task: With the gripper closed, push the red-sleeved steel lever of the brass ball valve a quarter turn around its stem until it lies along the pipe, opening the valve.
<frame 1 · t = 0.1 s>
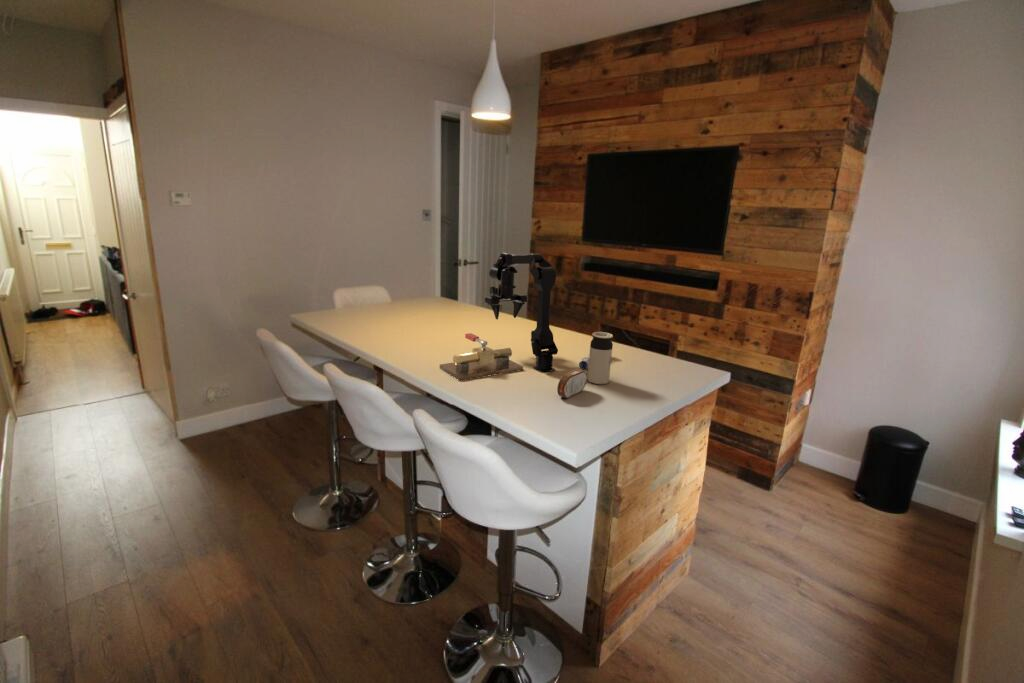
hand: (505, 318, 208), 15 cm above the table, tool pointing down, fingers open, 9 cm apart
travel mug: (597, 381, 180), on the table
valve: (482, 369, 186), on the table
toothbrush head: (595, 363, 203), on the table
tin: (571, 395, 165), on the table
lever: (476, 339, 187), point 11 cm above the table, hinge at 0.0°
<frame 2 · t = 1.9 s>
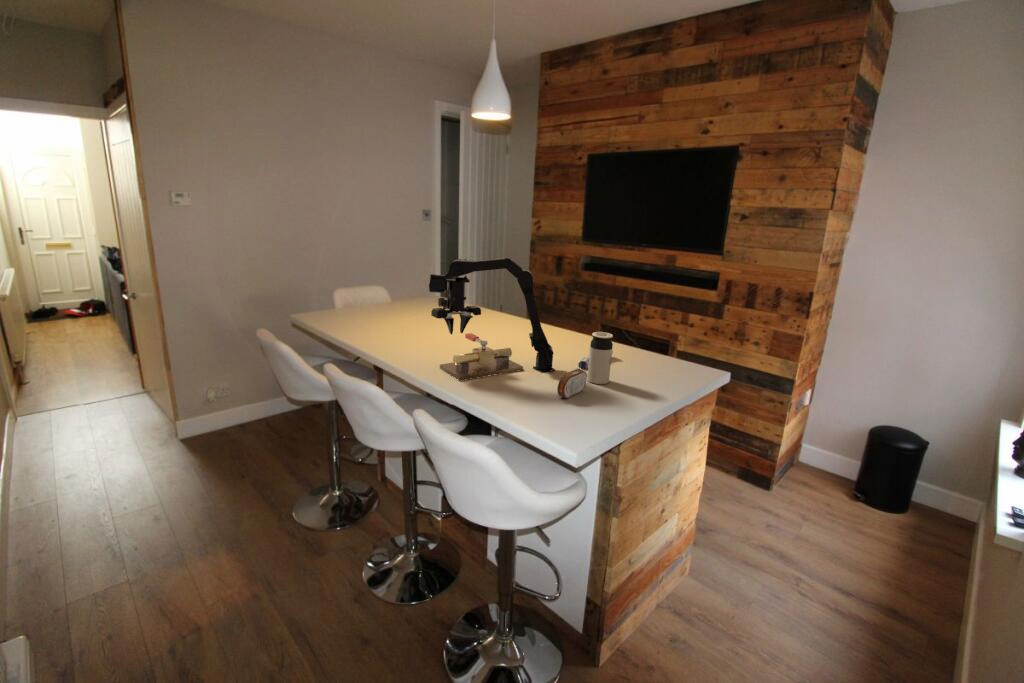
hand: (456, 333, 185), 13 cm above the table, tool pointing down, fingers open, 4 cm apart
nothing on the table moved.
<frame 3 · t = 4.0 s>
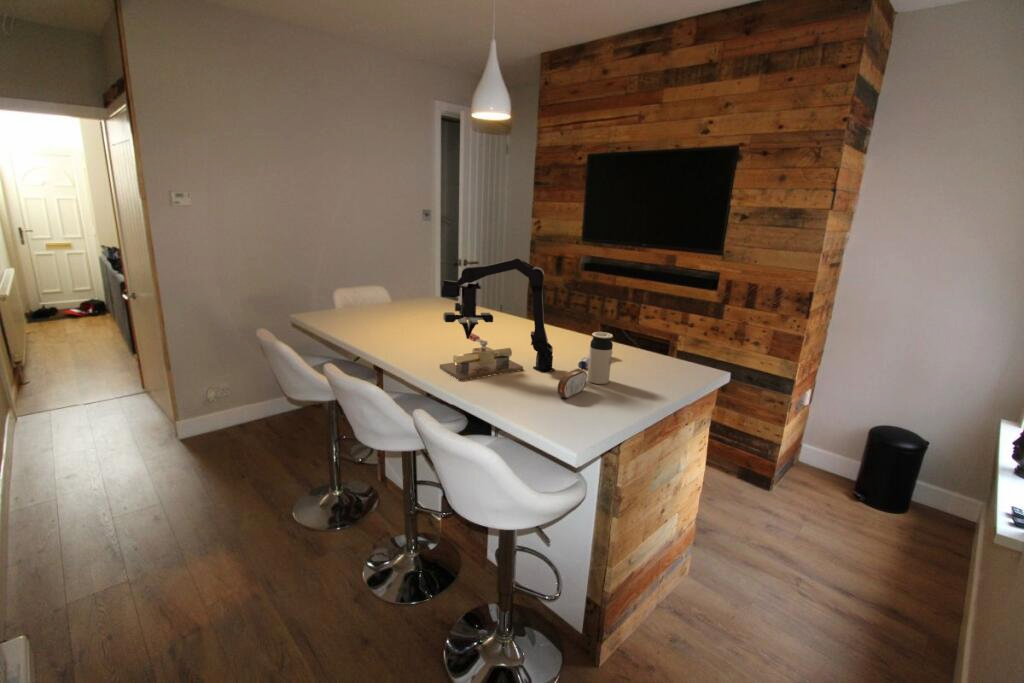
hand: (467, 338, 189), 10 cm above the table, tool pointing down, fingers closed
lever: (477, 339, 187), point 11 cm above the table, hinge at -2.1°, touching gripper
everything else where it was.
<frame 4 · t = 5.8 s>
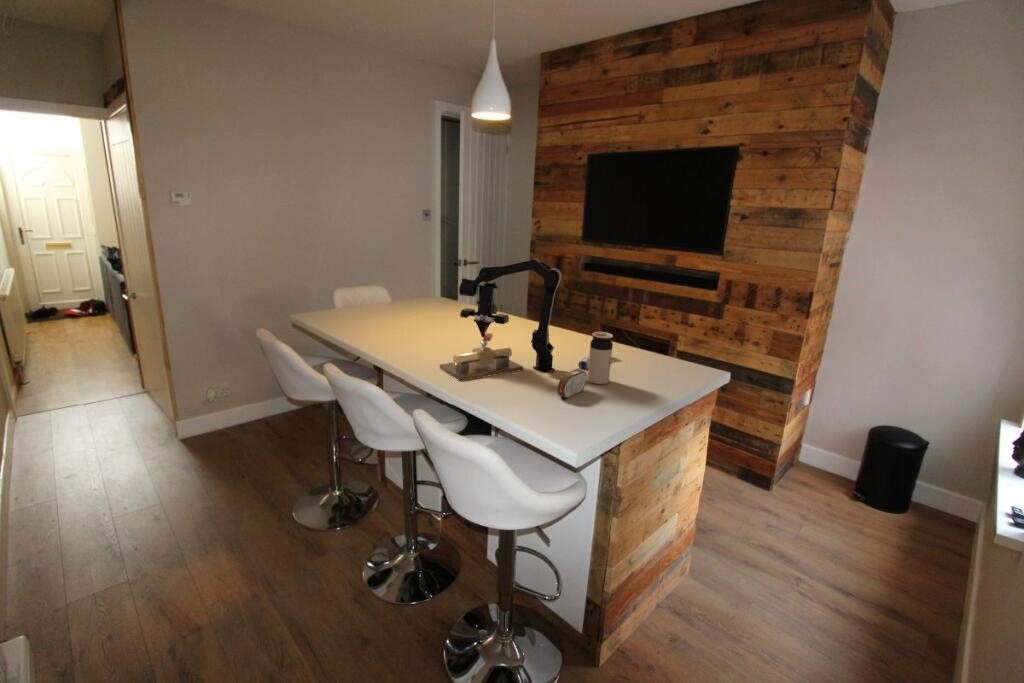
hand: (482, 337, 192), 11 cm above the table, tool pointing down, fingers closed
lever: (486, 339, 188), point 11 cm above the table, hinge at -41.7°, touching gripper
everything else where it was.
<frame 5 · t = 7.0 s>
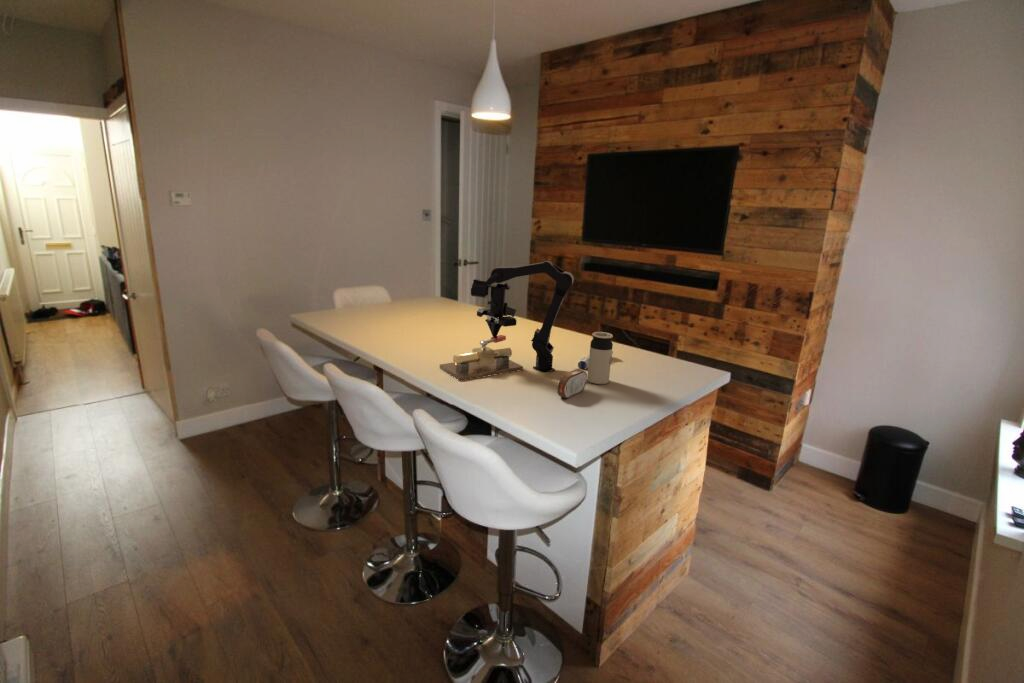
hand: (494, 337, 191), 11 cm above the table, tool pointing down, fingers closed
lever: (492, 340, 187), point 11 cm above the table, hinge at -70.8°, touching gripper
everything else where it was.
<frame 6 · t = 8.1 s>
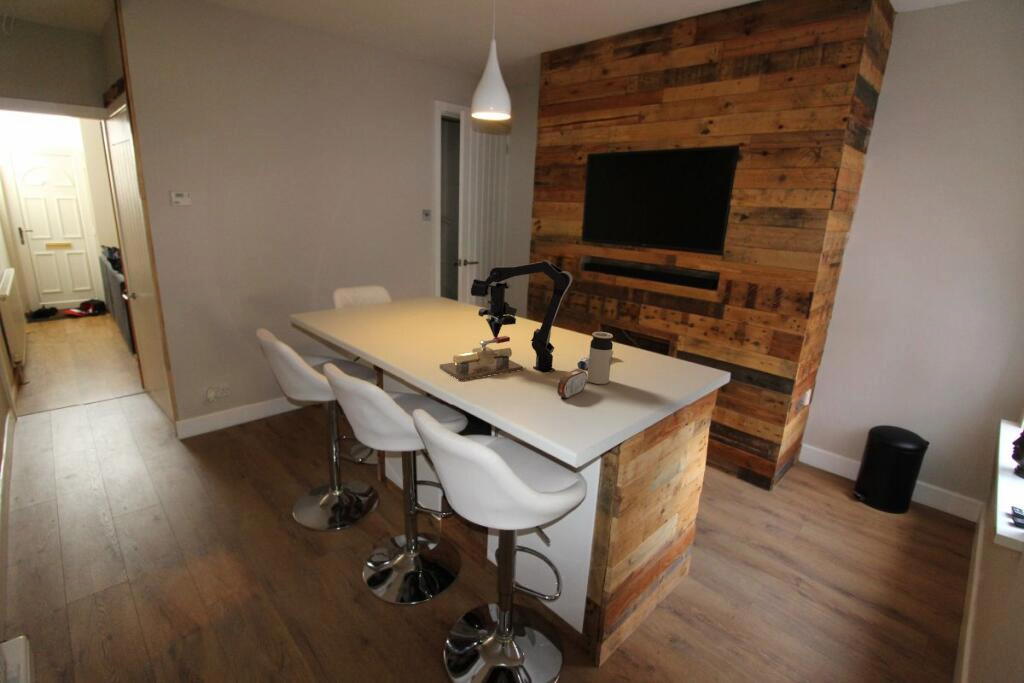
hand: (495, 337, 192), 11 cm above the table, tool pointing down, fingers closed
lever: (494, 340, 186), point 11 cm above the table, hinge at -81.5°
everything else where it was.
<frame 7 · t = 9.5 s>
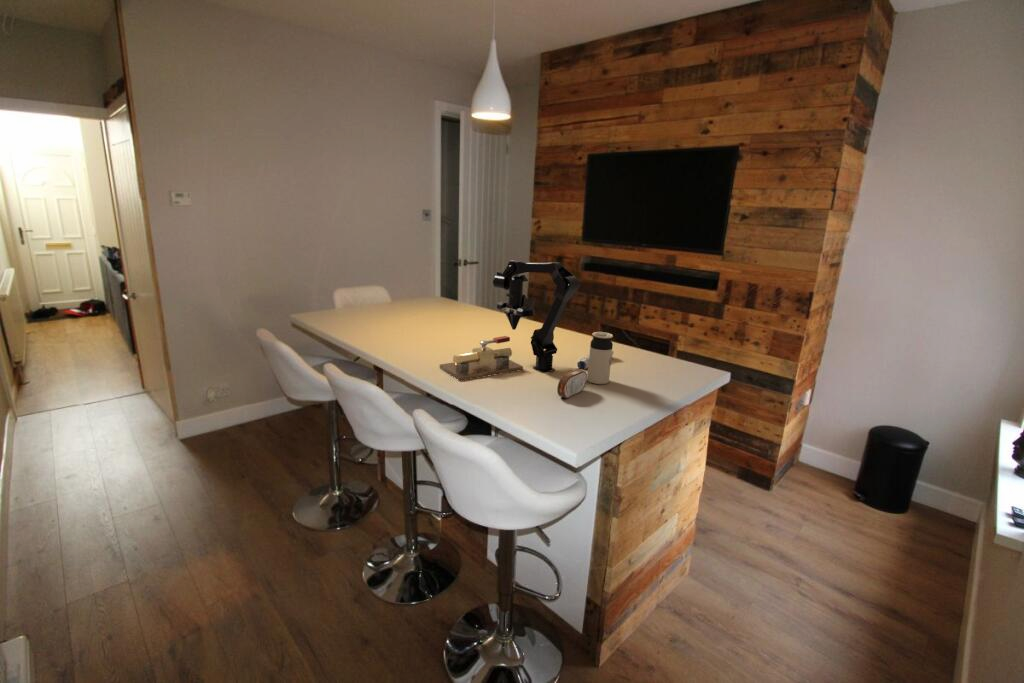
hand: (513, 329, 197), 13 cm above the table, tool pointing down, fingers closed
nothing on the table moved.
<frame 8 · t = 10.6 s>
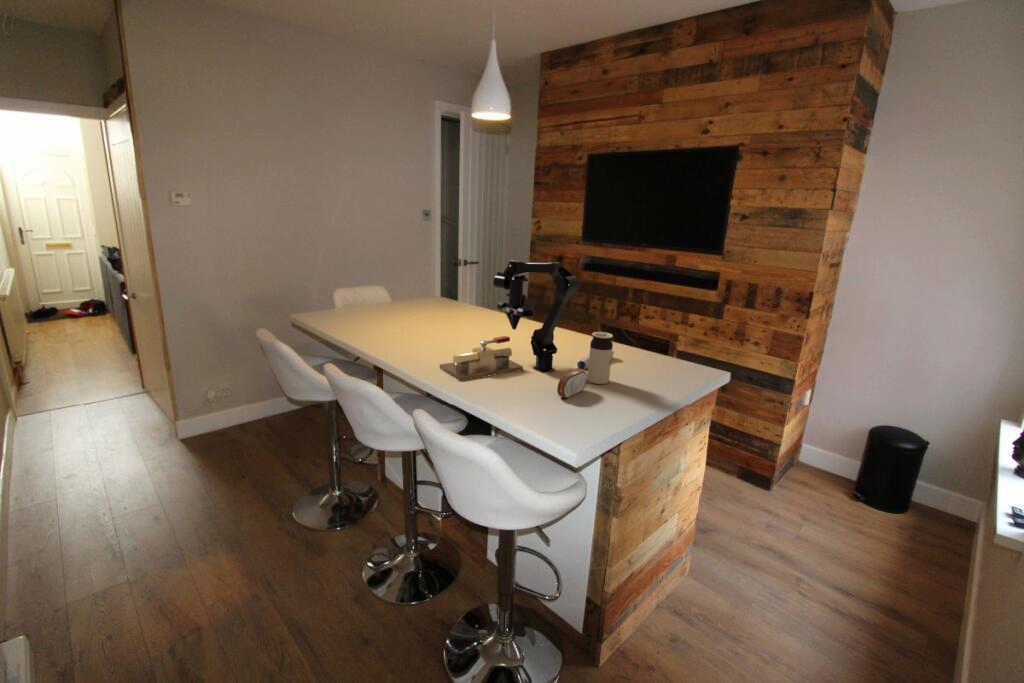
hand: (514, 329, 197), 13 cm above the table, tool pointing down, fingers closed
nothing on the table moved.
at the end: lever at -82° (first picture: +0°); travel mug moved 0.2 cm from its start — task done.
